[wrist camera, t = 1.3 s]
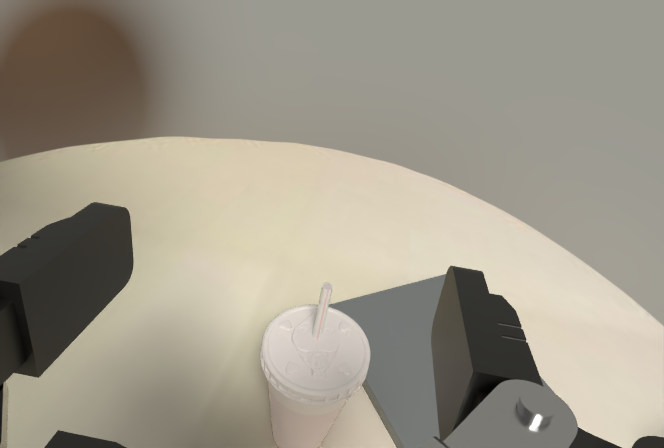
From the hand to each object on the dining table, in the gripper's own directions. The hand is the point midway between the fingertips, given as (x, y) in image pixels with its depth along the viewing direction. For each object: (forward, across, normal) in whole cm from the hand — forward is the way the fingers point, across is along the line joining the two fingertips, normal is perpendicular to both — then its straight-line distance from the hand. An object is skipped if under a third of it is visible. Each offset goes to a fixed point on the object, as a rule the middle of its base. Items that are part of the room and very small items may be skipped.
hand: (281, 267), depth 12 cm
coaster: (+22, -10, +20) cm, 31 cm away
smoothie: (+13, 0, +22) cm, 25 cm away
